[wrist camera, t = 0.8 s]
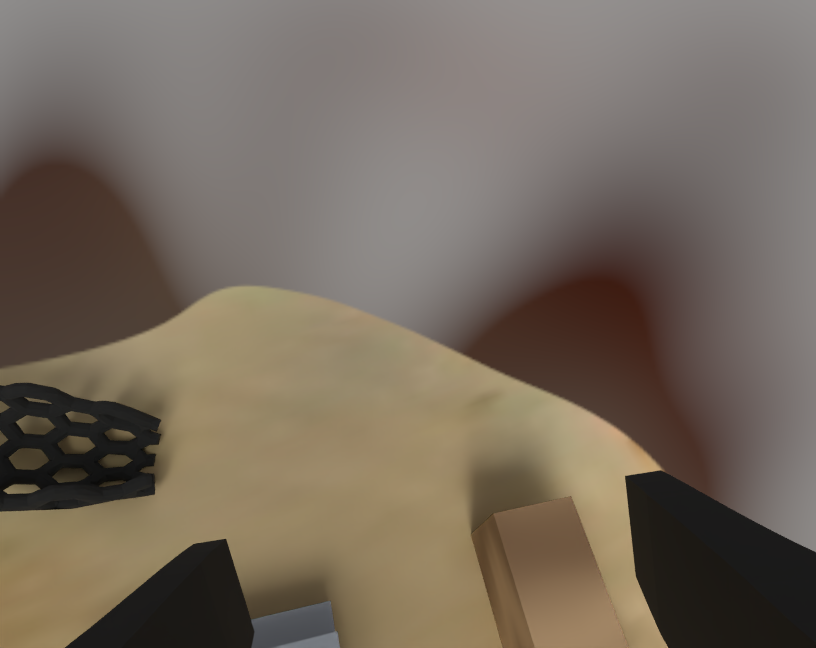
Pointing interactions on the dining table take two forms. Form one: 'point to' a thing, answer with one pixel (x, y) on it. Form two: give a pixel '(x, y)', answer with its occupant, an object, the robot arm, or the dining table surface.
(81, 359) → the dining table surface
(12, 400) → the decorative element
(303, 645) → the fulcrum
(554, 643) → the beam
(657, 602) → the robot arm
